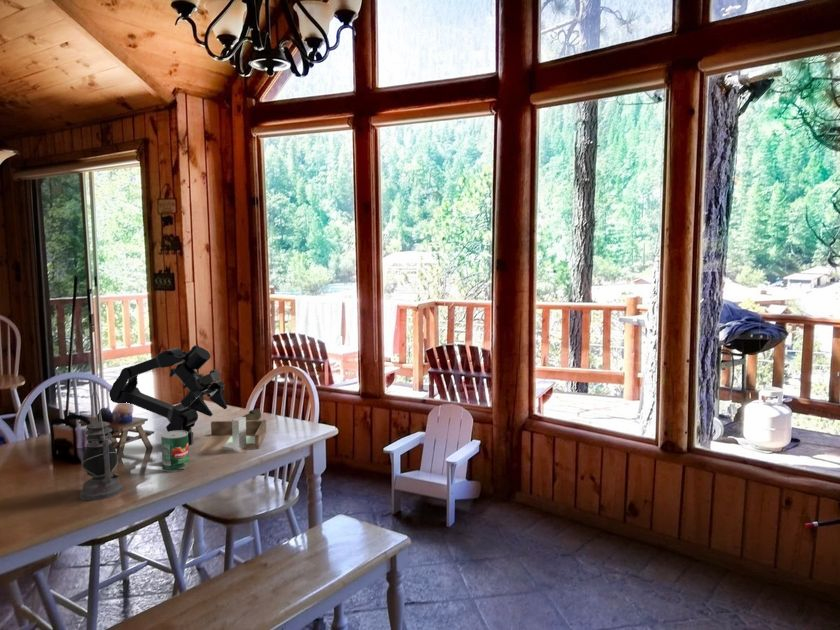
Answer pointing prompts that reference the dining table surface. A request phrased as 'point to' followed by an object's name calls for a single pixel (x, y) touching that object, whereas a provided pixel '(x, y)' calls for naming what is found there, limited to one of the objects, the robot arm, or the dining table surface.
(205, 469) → the dining table surface
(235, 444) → the bracket
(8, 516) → the dining table surface
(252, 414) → the hand tool
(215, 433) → the box
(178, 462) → the canned tomato
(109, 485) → the lantern
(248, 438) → the pad
